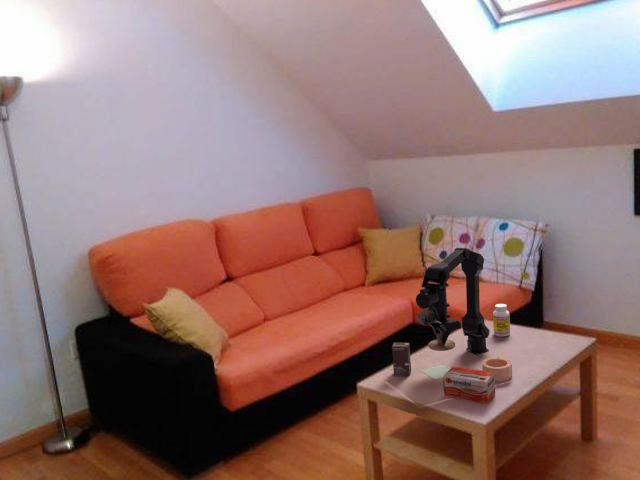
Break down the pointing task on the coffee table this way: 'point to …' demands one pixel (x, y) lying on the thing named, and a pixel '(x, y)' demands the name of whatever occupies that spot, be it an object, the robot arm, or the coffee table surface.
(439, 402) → the coffee table surface
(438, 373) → the mat
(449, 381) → the medicine box
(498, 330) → the supplement bottle
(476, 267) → the robot arm
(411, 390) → the coffee table surface
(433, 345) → the lid
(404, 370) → the box
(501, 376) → the bowl
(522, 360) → the coffee table surface
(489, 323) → the coffee table surface
